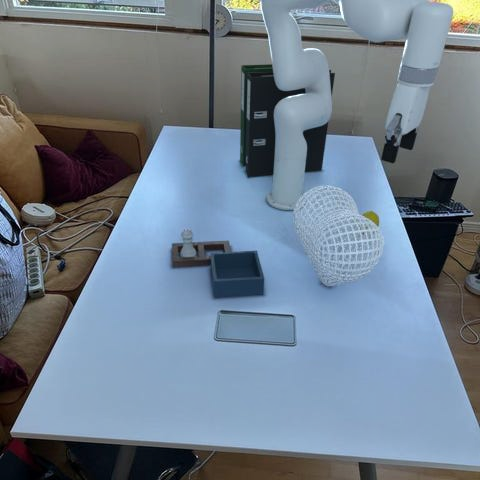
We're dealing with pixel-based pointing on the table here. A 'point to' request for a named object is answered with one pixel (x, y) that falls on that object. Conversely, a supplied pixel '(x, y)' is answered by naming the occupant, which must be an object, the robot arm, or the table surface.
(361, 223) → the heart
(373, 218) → the lemon
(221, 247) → the stand
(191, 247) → the rook chess piece
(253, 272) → the blue open box
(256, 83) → the binder
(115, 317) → the table surface
